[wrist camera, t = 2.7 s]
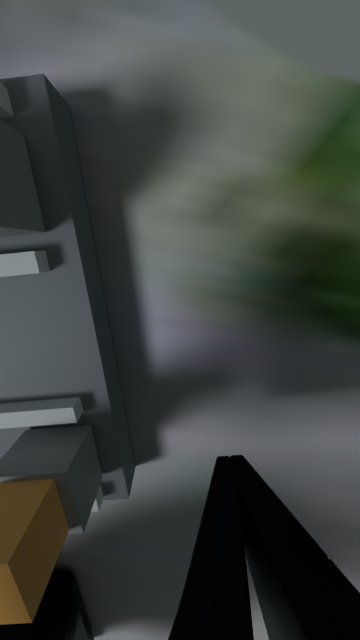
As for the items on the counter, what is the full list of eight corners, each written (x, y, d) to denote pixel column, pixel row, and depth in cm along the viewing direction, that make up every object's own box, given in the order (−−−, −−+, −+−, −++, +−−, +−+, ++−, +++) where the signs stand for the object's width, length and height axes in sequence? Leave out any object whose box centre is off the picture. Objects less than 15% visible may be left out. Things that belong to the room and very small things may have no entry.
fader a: (102, 476, 10) (50, 626, 6) (42, 481, 10) (-49, 632, 6) (90, 424, 9) (23, 556, 5) (25, 429, 9) (-89, 563, 5)
